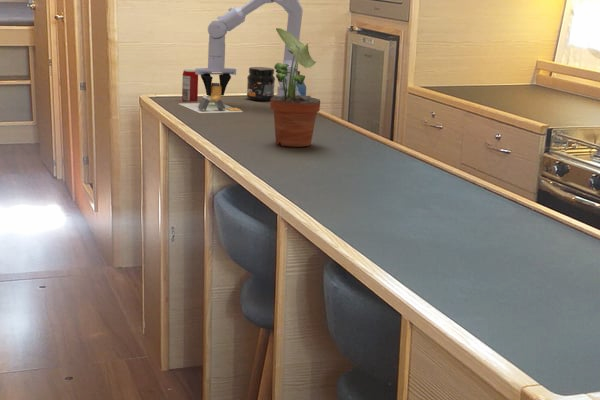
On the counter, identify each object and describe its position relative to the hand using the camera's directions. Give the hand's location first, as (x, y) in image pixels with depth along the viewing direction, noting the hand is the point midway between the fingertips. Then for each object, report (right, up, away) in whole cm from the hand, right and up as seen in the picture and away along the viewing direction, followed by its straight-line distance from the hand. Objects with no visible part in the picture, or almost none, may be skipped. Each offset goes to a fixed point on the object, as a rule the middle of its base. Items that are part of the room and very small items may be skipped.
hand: (215, 95), depth 310 cm
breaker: (-4, -7, -11) cm, 13 cm away
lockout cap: (0, -2, 0) cm, 2 cm away
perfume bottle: (+27, 0, +27) cm, 39 cm away
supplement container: (+14, +2, +30) cm, 33 cm away
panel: (-1, -6, -3) cm, 7 cm away
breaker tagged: (+3, -6, -7) cm, 10 cm away
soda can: (-11, -1, +13) cm, 17 cm away
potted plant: (+28, -21, -54) cm, 64 cm away
